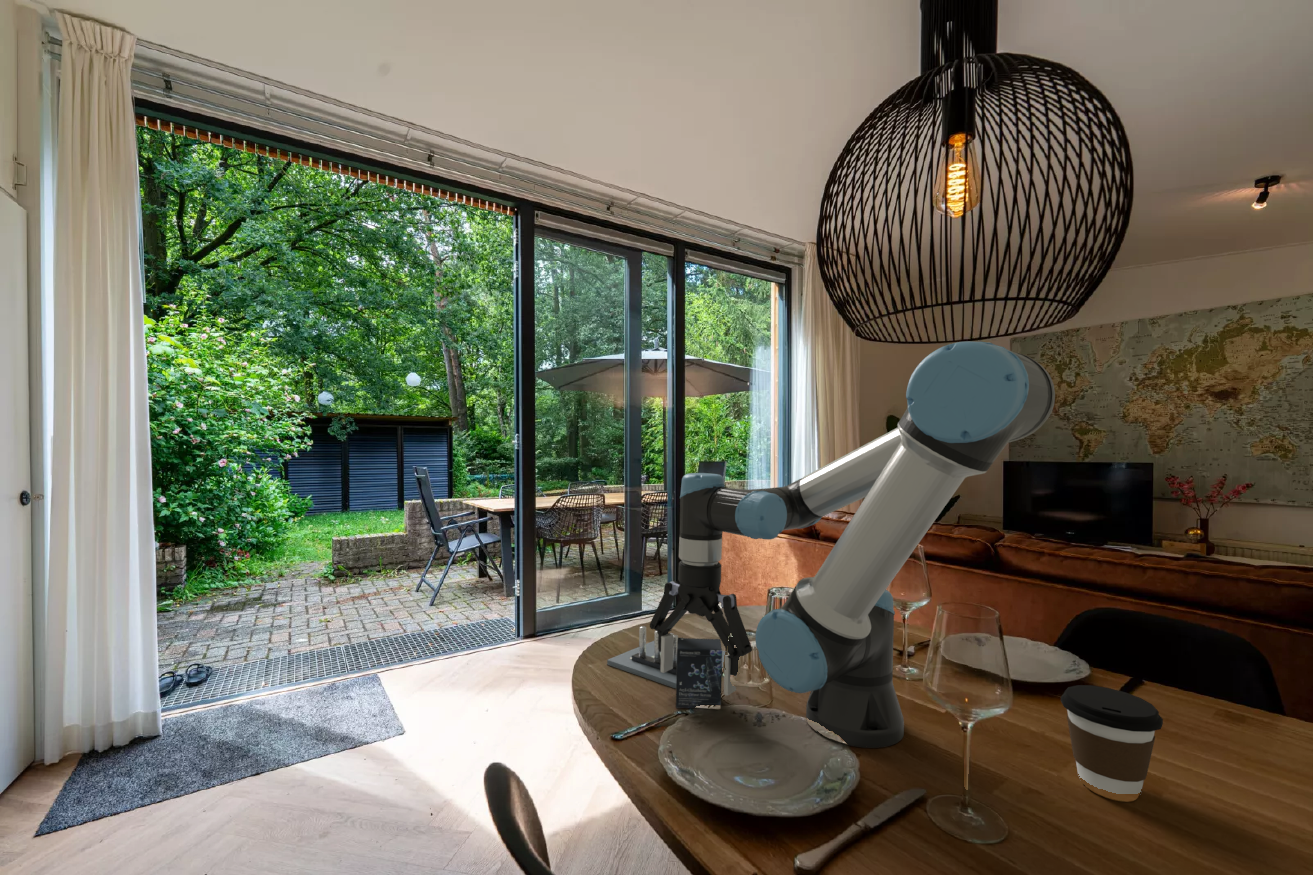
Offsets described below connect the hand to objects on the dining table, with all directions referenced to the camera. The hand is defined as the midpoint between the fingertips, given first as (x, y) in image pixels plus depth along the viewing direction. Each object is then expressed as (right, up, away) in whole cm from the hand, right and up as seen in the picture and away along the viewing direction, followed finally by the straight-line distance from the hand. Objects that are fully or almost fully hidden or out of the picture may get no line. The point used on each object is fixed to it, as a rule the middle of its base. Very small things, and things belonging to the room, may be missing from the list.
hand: (696, 681), depth 104 cm
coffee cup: (+54, -5, -24) cm, 59 cm away
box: (0, -4, 0) cm, 4 cm away
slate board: (-3, -4, +18) cm, 18 cm away
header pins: (-7, -3, +13) cm, 15 cm away
